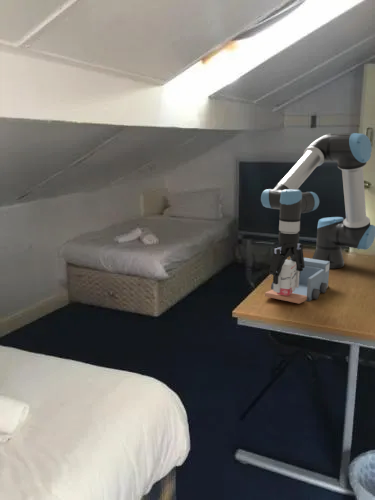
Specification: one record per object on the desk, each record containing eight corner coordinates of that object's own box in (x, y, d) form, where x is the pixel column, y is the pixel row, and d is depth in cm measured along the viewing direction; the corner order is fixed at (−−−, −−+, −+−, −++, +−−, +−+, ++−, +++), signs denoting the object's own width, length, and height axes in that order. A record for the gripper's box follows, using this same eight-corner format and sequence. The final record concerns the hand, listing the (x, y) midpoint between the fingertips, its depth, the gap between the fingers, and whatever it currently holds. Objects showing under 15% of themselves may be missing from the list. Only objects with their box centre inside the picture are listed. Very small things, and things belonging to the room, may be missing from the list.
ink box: (288, 296, 175) (290, 265, 172) (276, 294, 177) (277, 264, 174) (295, 289, 182) (297, 260, 179) (283, 287, 185) (285, 258, 182)
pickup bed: (289, 279, 207) (290, 255, 204) (331, 287, 196) (333, 262, 194) (268, 293, 190) (269, 266, 187) (313, 302, 180) (315, 274, 177)
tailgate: (273, 289, 187) (264, 292, 181) (307, 295, 179) (299, 299, 173) (272, 293, 188) (264, 297, 181) (306, 300, 180) (299, 304, 174)
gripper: (301, 226, 183) (298, 281, 189) (260, 233, 171) (258, 292, 176) (317, 229, 177) (313, 286, 183) (275, 237, 165) (272, 297, 170)
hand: (286, 289), depth 180 cm, fingers closed on ink box, 9 cm apart
